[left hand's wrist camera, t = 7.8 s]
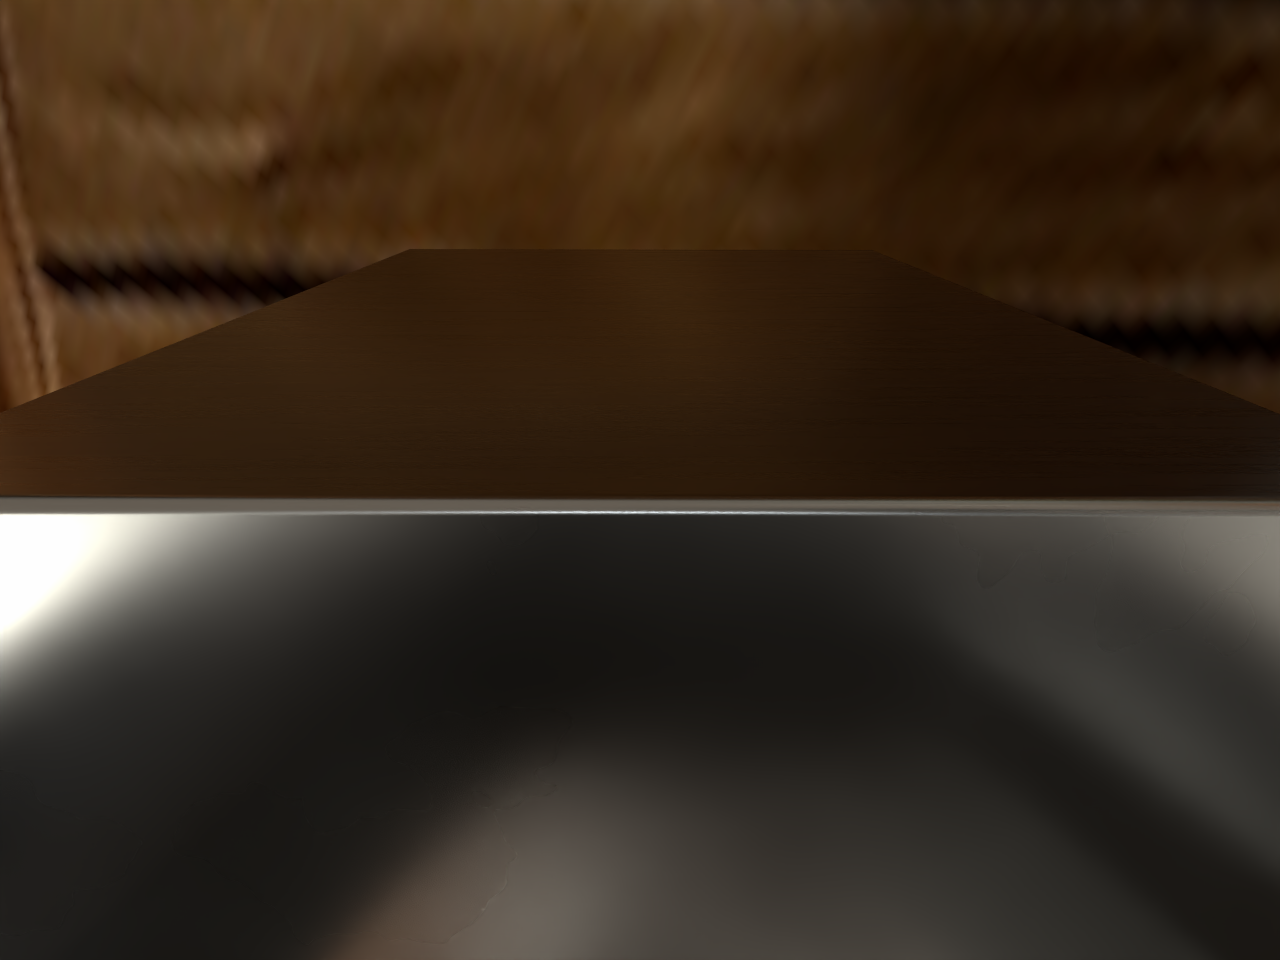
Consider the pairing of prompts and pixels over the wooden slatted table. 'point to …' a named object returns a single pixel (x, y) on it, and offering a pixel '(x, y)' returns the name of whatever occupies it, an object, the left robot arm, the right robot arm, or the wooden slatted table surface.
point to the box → (639, 628)
